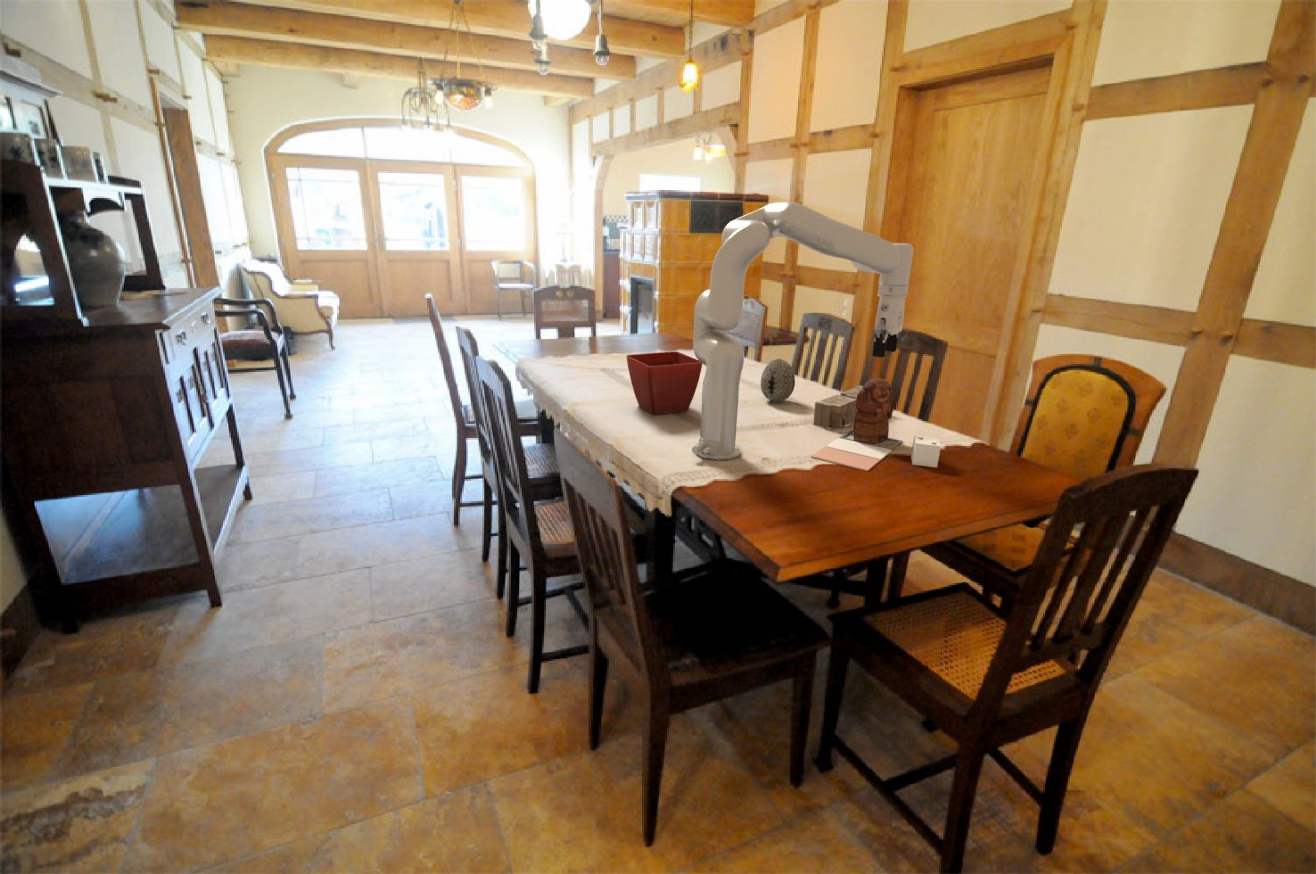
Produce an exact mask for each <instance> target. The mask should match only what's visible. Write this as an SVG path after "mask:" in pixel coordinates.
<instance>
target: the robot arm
mask: <svg viewBox="0 0 1316 874" xmlns="http://www.w3.org/2000/svg"><path fill="white" fill-rule="evenodd" d="M776 237H777V238H784V239H788V240H790V241H791V242H795V243H797V244H800V245H801V246H804V247H806V248H808V249H810V250H813V251H815V252H817V253H820V254H822V255H826V256H828V257H833V258H840V259H843V260H848V261H850V262H851V264H852V266H853V267H854V268H855V269H857V270H859V271H861V272H868V273H874V274H879V279H878V280H879V281H878V289H877V297H879V301H878V304H877V311H876V316H875V325H874V333H875V334H874V339H873V347H872V348H873V349H872V357H875V358H882V359H883V358H884V357H886V352H892V353H895V352H896V351H897V349H898V347H897V346H898V339H899V338H898V337H899V333H901V332H902V331H903V327H904V319H905V306H906V303H905V302H906V299H907V298H908V291H909V283H910V278H911V269H912V263H913V255H914V247H913V245H912V244H911V243H907V242H905V243H904V242H902V243H901V242H891V241H888V240H887V239H884V238H882V237H880V236H877V235H876V234H873V233H870V232H867V231H864V230H861V229H860V228H856V227H854V226H851V225H850V224H847V223H843V222H840V221H838V220H836V219H833V218H832V217H829V216H826V215H824V214H823V213H821V212H818V211H817V210H814V209H812V208H810V207H808V206H806V205H804V204H801V203H798V202H795V201H775V202H771V203H769V204H767V205H765V206H763V207H761V208H758V209H755V210H754V211H752V212H749V213H747V214H745V215H742V216H739V217H737V218H736V219H733V220H731V221H729V223H727V225H725V226H724V228H723V230H722V232H721V243H722V245H721V246H720V247H719V248H718V251H717V252H716V254H715V256H714V258H713V260H712V261H713V262H712V265H711V270H710V280H709V289H707V290H705V291H703V292H702V293H701V294H700V295H699V297H698V298H697V300H696V303H695V305H694V310H693V313H694V315H693V332H692V333H693V336H692V337H693V341H692V342H693V343H692V346H693V347H692V349H693V353H694V356H695V358H696V359H697V360H699V361H700V362H701V363H702V365H705V366H706V368H705V374H704V377H703V381H702V390H701V391H702V392H701V414H700V432H699V433H700V435H699V438H698V443H696V444H695V445H693V447H691V452H692V453H693V454H695V455H697V456H698V455H699V456H698V457H701V458H703V459H707V458H710V459H709V460H713V459H716V460H715V461H726V460H725V459H728V460H732V458H733V459H735V458H738V457H739V456H740V455H741V452H742V451H741V447H739V445H737V444H736V441H737V440H736V438H737V423H738V413H739V412H738V411H739V409H738V408H739V396H740V395H739V394H740V393H739V391H740V384H741V383H740V382H741V377H742V373H743V368H744V363H745V352H744V349H743V346H742V345H741V343H739V341H737V340H736V339H735V338H734V337H732V336H730V335H728V331H732V330H735V329H736V328H737V327H738V326H739V325H740V323H741V321H742V318H743V314H744V313H743V312H744V311H743V310H744V292H745V281H746V275H747V270H748V269H749V266H750V265H751V263H753V261H754V260H755V259H756V258H757V257H758V256H760V255H761V254H762V253H764V251H766V250H767V248H768V246H769V245H770V242H771V240H772V239H774V238H776ZM720 459H721V460H720ZM723 459H724V460H723Z"/></svg>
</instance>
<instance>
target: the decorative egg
mask: <svg viewBox="0 0 1316 874" xmlns="http://www.w3.org/2000/svg"><path fill="white" fill-rule="evenodd" d="M795 377H796V375H795V371H794V369H793V367H792V366H791V364H790V363H789V362H788V361H786V360H784V359H783V358H782V359H781V358H778V359H777V358H776V359H773V360H772V361H770V362H769V363H768V364H766V366H765V367H764V369H763V371H762V374H761V376H760V389H761V393H762V394H763V396H764V397H765V398H766V400H769V401H770V402H773V403H779V402H783V401H785V400H787V399H788V398H789V397H790V396H792V394H793V392H794V390H795V386H796V378H795Z"/></svg>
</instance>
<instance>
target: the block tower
mask: <svg viewBox="0 0 1316 874" xmlns="http://www.w3.org/2000/svg"><path fill="white" fill-rule="evenodd" d="M863 386H864V385H863ZM863 386H862V385H857V386H855V387H854V388H851V389H847V390H845V391H842V392H840V394H835V395H832V396H830V397H826V398H823V399H821V400H818V401H815V402H814V412H813V413H814V415H813V425H814V426H817V427H821V428H826V429H830V428H831V429H834V430H835V429H836V430H839V429H841V428H843V427H846V426H848V425H850V424H854V418H855V415H856V412H857V411H858V410H857V409H856V406H855V404H856V399H857V394H858V393H859V392H860V391H861V390H862V389H863Z"/></svg>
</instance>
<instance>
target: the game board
mask: <svg viewBox="0 0 1316 874" xmlns="http://www.w3.org/2000/svg"><path fill="white" fill-rule="evenodd" d="M852 433H853V429H849V430H848V431H846V433H845V432H844V434H843V435H841V436H839V437H838V438H836V439H834V440H833V441H831V442H830V443H828V444H827V445H826V446H824V447H823V448H821V449H820V450H818V451H816V452H814V454H812V455H810V457H811V458H813V459H816V460H821V461H824V462H828V463H832V464H836V465H841V466H843V467H844V466H845V467H849V468H853V469H857V470H860V471H864V472H869V471H871V469H873V467H875V466H876V465H878V463H880V462H881V461H882V460H883V459H884V458H886V456H888V455H889V454H891V452H892V451H894V450H895V449H896V448H897V447H898V446H900V445H901V444H902V443H903V441H904V440H902V439H901V440H900V439H897V438H892V437H888V438H884V440H887V441H892V442H896V443H895V444H894V445H892V446H891V447H888V446H884V445H879V444H876V443H865V442H859V441H855V440H854V439H852V438H848V437H847V436H849V435H850V434H852Z"/></svg>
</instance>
